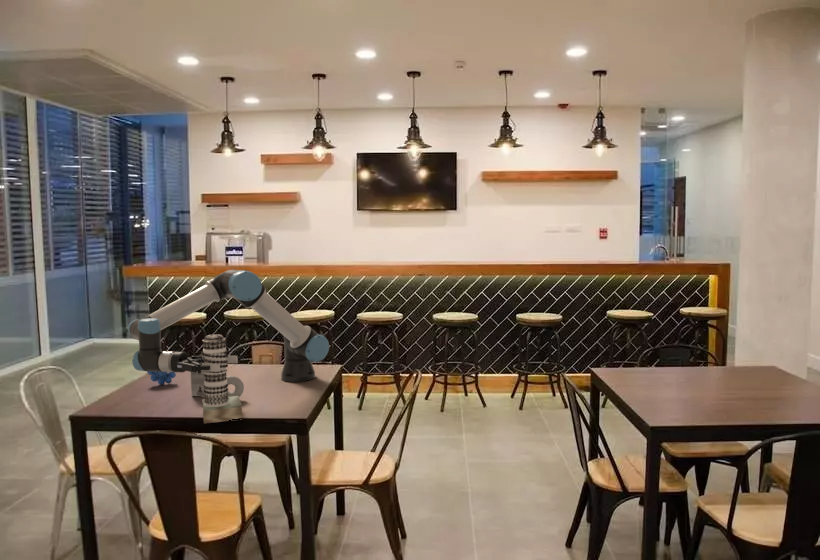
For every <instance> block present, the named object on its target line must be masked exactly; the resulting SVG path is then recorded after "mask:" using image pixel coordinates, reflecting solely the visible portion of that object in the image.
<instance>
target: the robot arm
mask: <svg viewBox="0 0 820 560" xmlns="http://www.w3.org/2000/svg"><path fill="white" fill-rule="evenodd" d="M266 290H267V289H266V286H265V285H264V284H263V283H262V281H261V279H260V278H259V276H258V275H257V274H256V273H253V271H250V270H245V269H235V268H234V269H228V270H225V271H223V272H221V273H220V274H218V275H216V276H214V277H213V278H211V279H208V280H206V282H205V283H204V285H203V286H200V287H199V288H197V289H195V290H194V291H192V292H189V293H187V294H186V295H184V296H182V297H180V298H178V299H176V300H175V301H173V302H171V303H169V304H167V305H165V306H163V307H161V308H159V309H158V310H156V311H154V312H152V313H150V314H148V315H146V316H144V317H142V318H138V319H134V320H132V321H131V322H129V324H128V326H127V332H128V334H129V336H131V338H132V339H133V340H136V341H138V346H139V348H138V350H137V351H135V352H134V354H133V355H132V357H133V358H132V361H131V363H132V366H133V369H135V370H136V371H141V372H146V373H147V372H148V371H157V372H167V373H170V372H175V373H185V372H189V373H191V372H194V373H196V372H197V371H198V374H200V373H201V370H202V371H212V372H220V364H213V363H202V361H203V360H202V356H204V355H200V354H197V355H191V356H189V354H188V353H187V352H185V351H173V350H172V351H170V350H169V351H168V350H164V351H163V350H162V337H161V336H162V335H161V333H162V330H164V329H166V328H167V327H169V326H171V325H173V324H176V323H177V322H179V321H181V320H182V319H184V318H186V317H187V316H190V315H192V314H193V313H196V312H197V311H199V310H200V309H203V308H205V307H207V306H208V305H210V304H212V303H214V302H215V303H219V302H221V301H222V300H225V299H230V298H231V299H234V300H236V301H237V302H238V303H239V304H241V305H242V306H243V308H245V309H252V310H253V311H254V312H255V313H257V314H258V315H259V316H260V317H261V318H263V320H265V321H266V322H267V323H269V325H270V326H272V327H273V328H274V329H275V330H276V331H278V332H279V333H280V334H281V335H282V336H283V345H284V346H283V348H284V349H283V350H284V364H283V367H282V370H281V375H280V376H281V378H280V379H281V380H282V381H284V382H291V383H292V382H293V383H294V382H295V383H296V382H297V383H299V382H301V383H302V382H306V381H307V380H308V381H310V380H311V381H312V380H313V379H315V378H316V372H315V368H314V366H313V363H312V362H320V361H323V360H324V359H325V358H326V357H327V356H328V353H329V351H330V344H329V340H328V339H327V337H326V336H324V335H322V334H319V333H317V332H316V331H315V330H314V329H313V328H312V327H311V326H309V325H303V324H302V323H301V322H300V321H299V320H298V319H296V317H294V316H293V315H292V314H291V313H290V312H289V311H288V310H286V309H285V308H284V307H283V306H282V305H281V304H280V303H279V302H277V300H275V299H274V297H272V296H270V295H269V293H268V292H267V291H266ZM225 360H227V361H228V362H227V363H226V364H238V363H239V362H238V355H228V357H227V358H226V357H225ZM200 362H201V364H200ZM308 381H307V382H308Z"/></svg>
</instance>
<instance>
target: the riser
mask: <svg viewBox="0 0 820 560" xmlns="http://www.w3.org/2000/svg"><path fill="white" fill-rule="evenodd" d="M228 398H229V399H228V401H229V403H228V404H227V405H225V406H221V407H206V406H204V404H205V402H204V399H205V398H204V399H202V414H203V424H211V423H212V424H213V423H221V422H229V420H231V421H233V420H232V419H238V418H242V419H243V406H242V402H241V399H240V397H239V396H232V397H228Z"/></svg>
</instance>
